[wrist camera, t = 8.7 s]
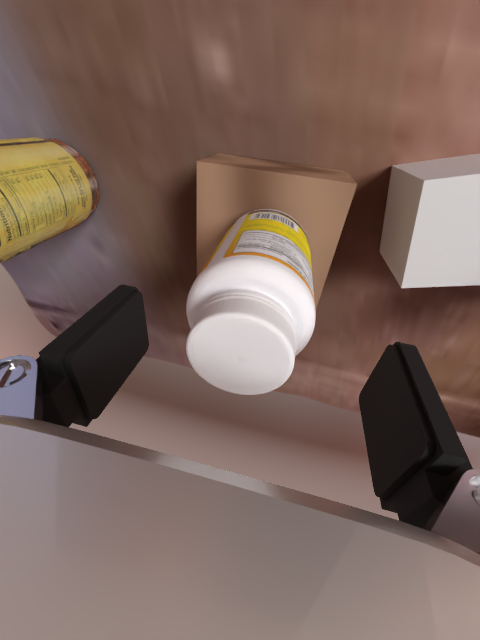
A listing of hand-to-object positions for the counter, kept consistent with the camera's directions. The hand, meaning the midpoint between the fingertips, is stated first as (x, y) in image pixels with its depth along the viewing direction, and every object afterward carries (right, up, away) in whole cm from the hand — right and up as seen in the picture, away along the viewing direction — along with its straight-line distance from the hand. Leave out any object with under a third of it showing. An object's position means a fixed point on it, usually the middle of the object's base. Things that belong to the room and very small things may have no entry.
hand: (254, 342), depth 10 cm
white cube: (+13, +9, +9) cm, 18 cm away
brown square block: (+2, +8, +11) cm, 14 cm away
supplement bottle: (+1, +6, +7) cm, 9 cm away
